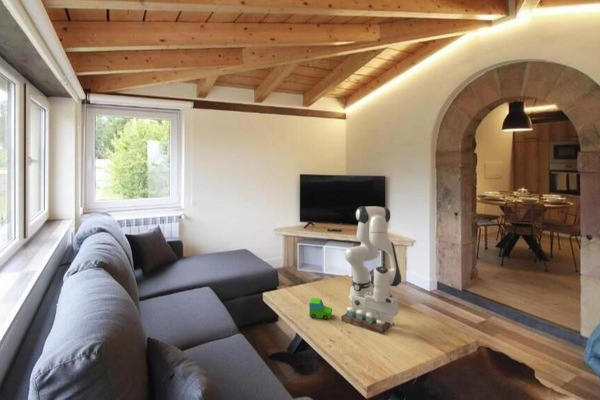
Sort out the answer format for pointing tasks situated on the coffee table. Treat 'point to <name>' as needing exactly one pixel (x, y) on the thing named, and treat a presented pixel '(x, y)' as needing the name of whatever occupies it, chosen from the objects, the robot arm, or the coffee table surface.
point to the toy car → (319, 309)
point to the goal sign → (359, 304)
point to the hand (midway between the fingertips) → (380, 318)
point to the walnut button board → (365, 324)
